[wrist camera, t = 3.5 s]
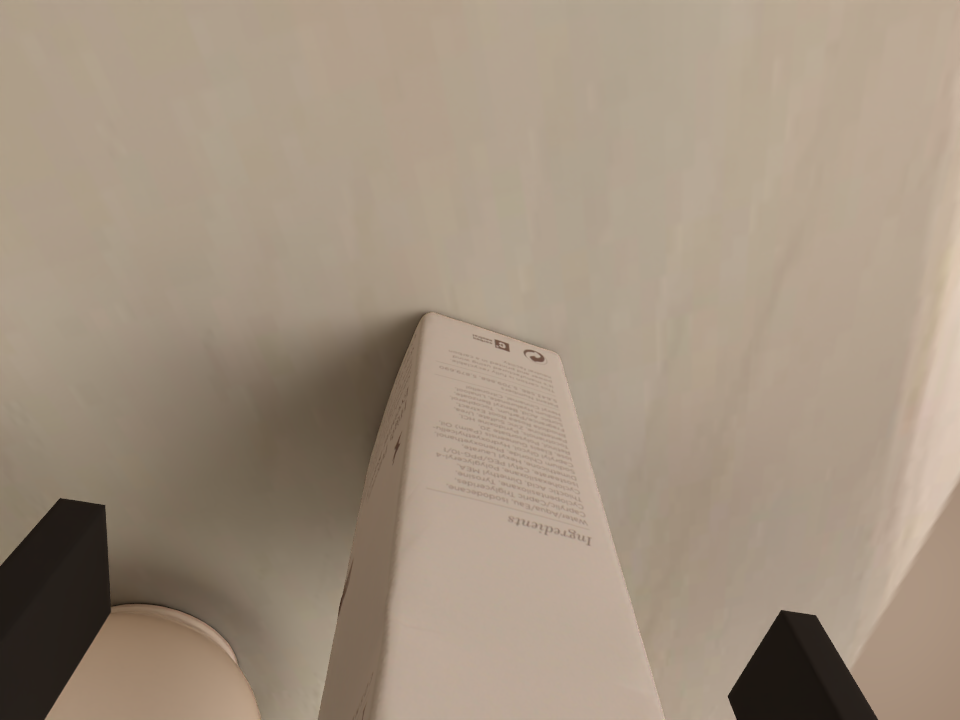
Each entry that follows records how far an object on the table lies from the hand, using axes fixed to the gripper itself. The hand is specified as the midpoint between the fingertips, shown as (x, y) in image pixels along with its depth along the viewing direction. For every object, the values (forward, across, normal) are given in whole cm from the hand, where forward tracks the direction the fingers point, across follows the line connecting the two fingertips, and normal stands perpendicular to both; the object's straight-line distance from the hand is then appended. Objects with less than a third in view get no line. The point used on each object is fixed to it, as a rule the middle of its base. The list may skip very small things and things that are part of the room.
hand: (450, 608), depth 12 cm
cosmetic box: (+8, 0, 0) cm, 8 cm away
